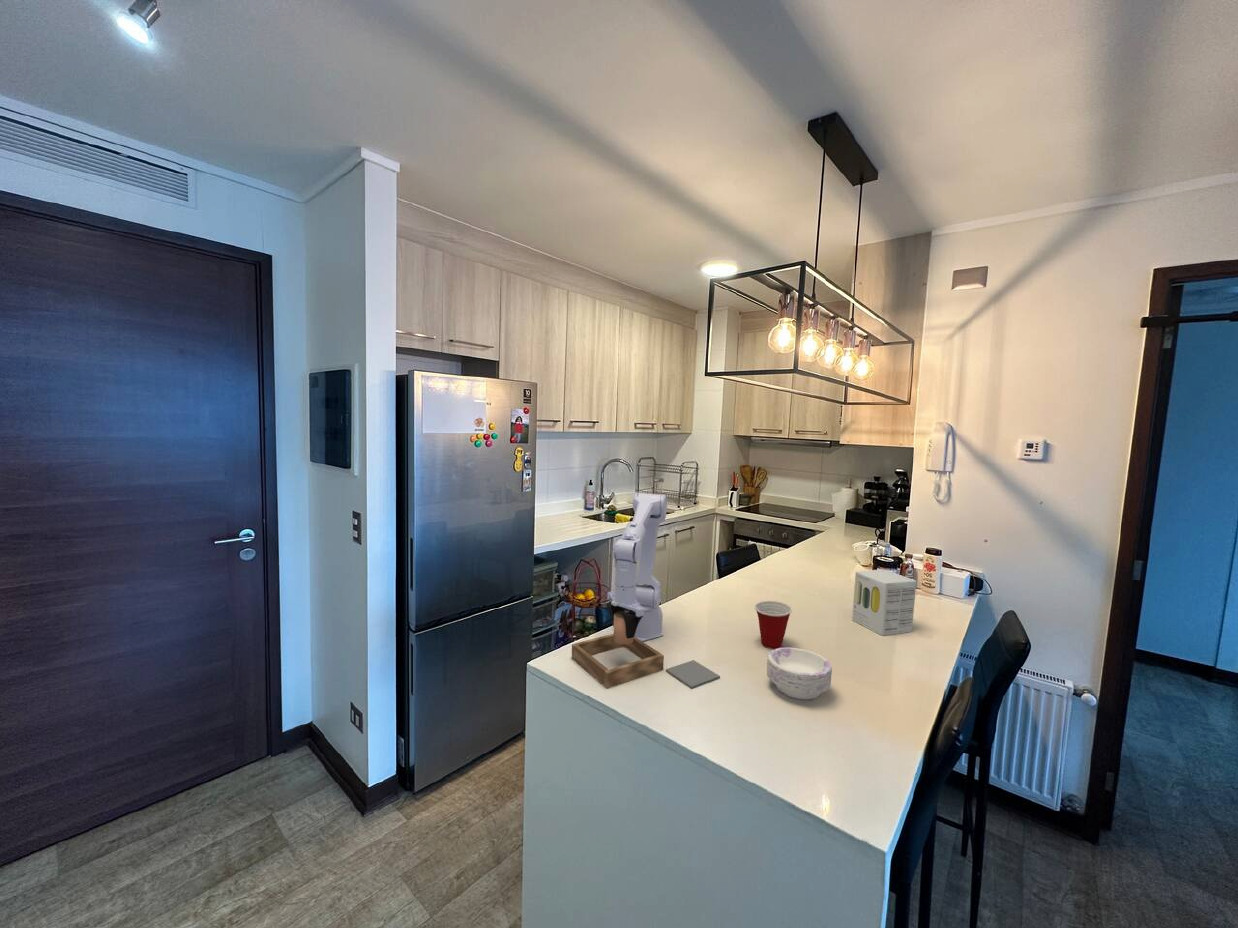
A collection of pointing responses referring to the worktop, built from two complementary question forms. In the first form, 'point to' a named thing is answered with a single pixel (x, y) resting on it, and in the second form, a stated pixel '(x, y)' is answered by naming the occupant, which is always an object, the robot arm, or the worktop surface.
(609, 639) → the brown wooden square frame
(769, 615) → the plastic cup
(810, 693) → the paper bowls
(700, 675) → the slate pad
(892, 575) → the supplement box
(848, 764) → the worktop surface
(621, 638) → the terracotta pot
